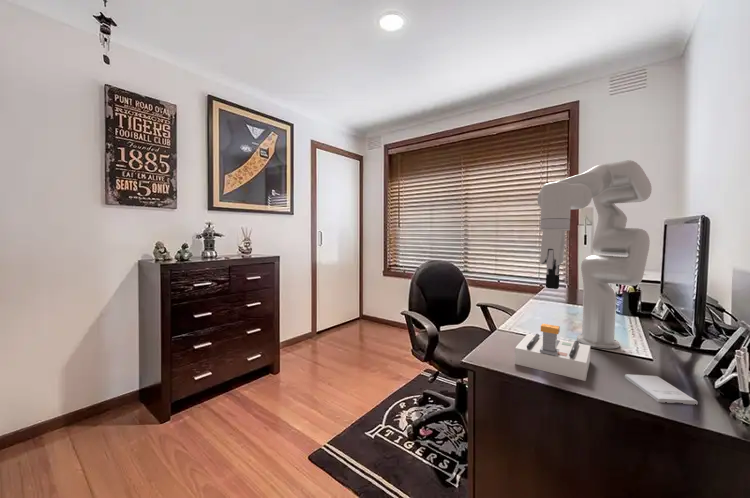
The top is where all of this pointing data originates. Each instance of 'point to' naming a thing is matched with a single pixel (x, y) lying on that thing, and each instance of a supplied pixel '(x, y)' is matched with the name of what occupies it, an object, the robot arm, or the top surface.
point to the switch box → (554, 357)
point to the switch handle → (550, 339)
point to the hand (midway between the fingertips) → (552, 288)
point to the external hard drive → (660, 389)
